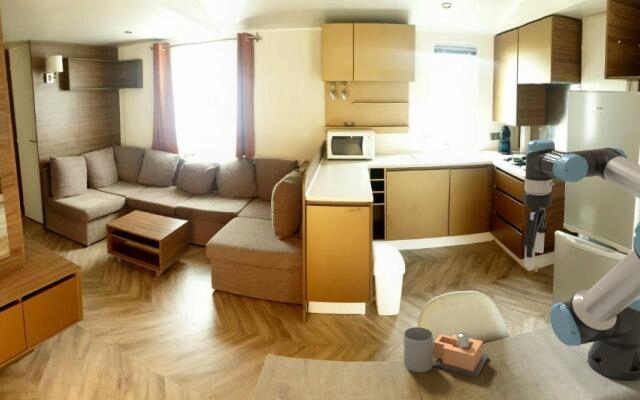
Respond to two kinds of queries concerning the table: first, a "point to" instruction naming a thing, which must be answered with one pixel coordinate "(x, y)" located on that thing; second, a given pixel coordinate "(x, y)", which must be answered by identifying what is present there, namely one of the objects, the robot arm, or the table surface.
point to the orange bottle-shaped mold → (458, 352)
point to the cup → (418, 349)
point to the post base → (464, 371)
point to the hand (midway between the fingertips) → (534, 259)
